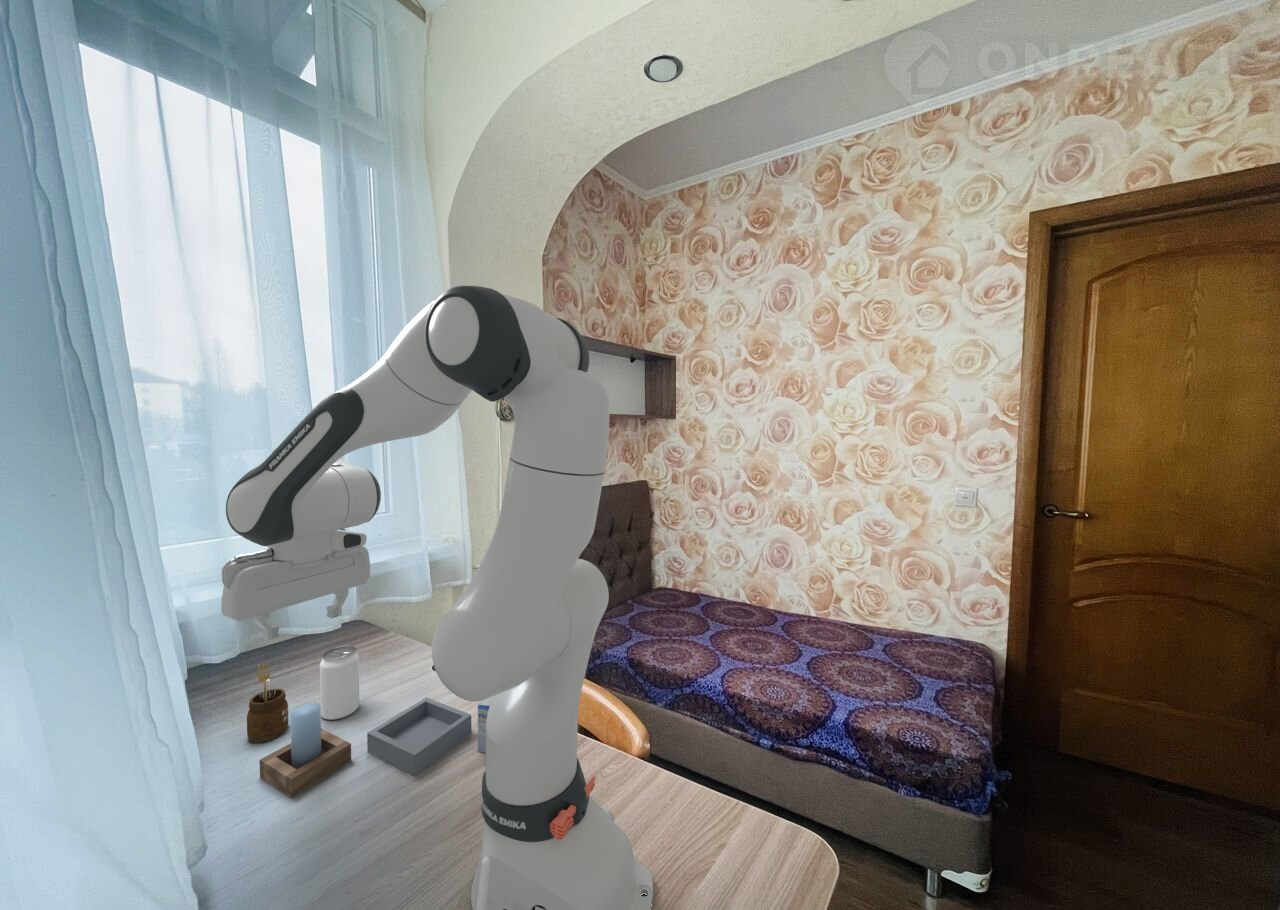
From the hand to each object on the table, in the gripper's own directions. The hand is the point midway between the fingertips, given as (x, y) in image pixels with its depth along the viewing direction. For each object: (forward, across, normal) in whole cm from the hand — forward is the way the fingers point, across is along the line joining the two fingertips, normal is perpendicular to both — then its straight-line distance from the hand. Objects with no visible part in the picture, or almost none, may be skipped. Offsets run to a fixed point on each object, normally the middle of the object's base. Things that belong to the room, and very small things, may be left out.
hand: (304, 626), depth 74 cm
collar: (+24, 0, 0) cm, 24 cm away
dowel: (+24, 0, 0) cm, 24 cm away
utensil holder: (+24, +2, +16) cm, 29 cm away
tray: (+24, +13, -11) cm, 29 cm away
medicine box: (+24, +20, -23) cm, 39 cm away
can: (+24, +12, +11) cm, 29 cm away
